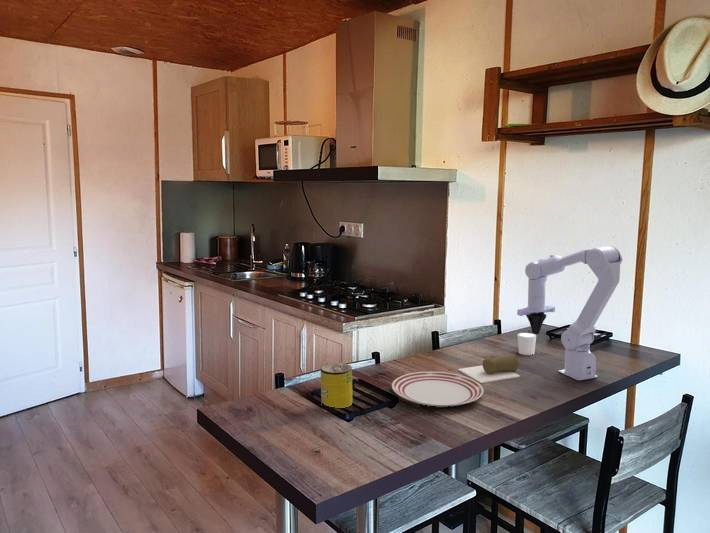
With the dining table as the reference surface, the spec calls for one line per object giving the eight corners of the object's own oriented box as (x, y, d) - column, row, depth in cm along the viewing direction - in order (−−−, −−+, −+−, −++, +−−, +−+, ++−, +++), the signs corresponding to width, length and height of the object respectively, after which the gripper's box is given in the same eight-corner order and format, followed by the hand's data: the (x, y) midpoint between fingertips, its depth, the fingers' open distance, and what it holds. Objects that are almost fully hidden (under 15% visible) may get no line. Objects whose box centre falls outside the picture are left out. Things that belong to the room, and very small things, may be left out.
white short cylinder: (513, 351, 209) (513, 333, 208) (528, 349, 211) (529, 331, 210) (523, 356, 202) (524, 338, 201) (539, 354, 204) (540, 336, 203)
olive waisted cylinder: (515, 351, 184) (487, 355, 181) (520, 369, 183) (492, 374, 179) (505, 355, 190) (478, 359, 186) (510, 372, 188) (482, 376, 184)
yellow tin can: (346, 399, 165) (345, 361, 163) (357, 410, 156) (356, 370, 155) (317, 404, 162) (316, 365, 160) (327, 416, 153) (326, 374, 152)
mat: (520, 377, 180) (520, 375, 180) (481, 383, 175) (481, 382, 175) (495, 364, 194) (495, 363, 193) (458, 370, 188) (458, 368, 188)
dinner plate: (485, 383, 176) (485, 373, 176) (481, 418, 150) (481, 406, 150) (401, 377, 183) (401, 367, 183) (383, 409, 157) (383, 398, 157)
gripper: (545, 292, 198) (544, 328, 200) (512, 295, 193) (511, 333, 195) (559, 295, 192) (558, 333, 194) (524, 299, 187) (524, 338, 189)
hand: (535, 333), depth 194 cm, fingers closed
